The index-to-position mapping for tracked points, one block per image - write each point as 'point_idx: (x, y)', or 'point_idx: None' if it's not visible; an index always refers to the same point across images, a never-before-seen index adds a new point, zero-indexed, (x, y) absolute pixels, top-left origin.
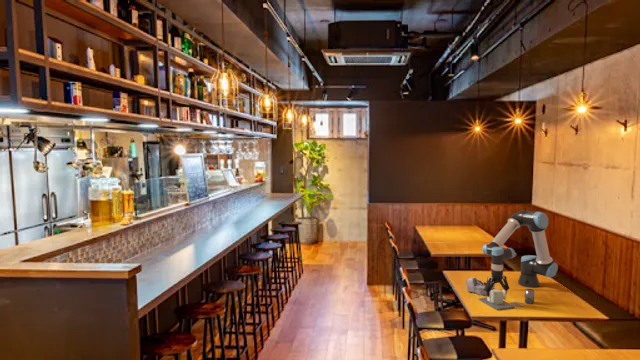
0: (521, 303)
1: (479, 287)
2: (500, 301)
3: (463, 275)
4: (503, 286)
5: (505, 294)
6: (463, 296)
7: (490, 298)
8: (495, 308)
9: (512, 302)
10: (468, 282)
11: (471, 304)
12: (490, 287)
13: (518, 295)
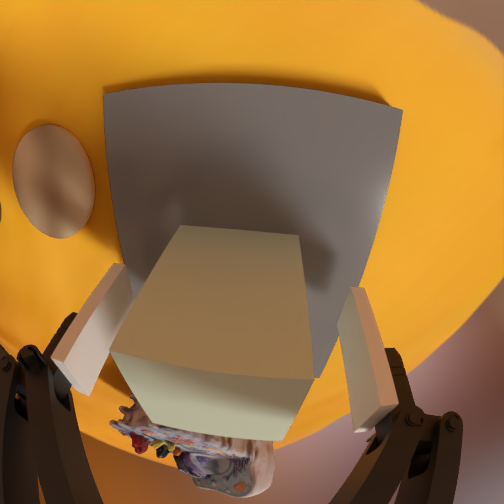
0: (18, 184)
1: (232, 450)
2: (214, 244)
3: (171, 459)
4: (59, 443)
5: (84, 312)
6: (349, 408)
7: (364, 317)
8: (392, 144)
9: (67, 227)
10: (268, 479)
11: (444, 320)
12: (393, 493)
13: (18, 308)
